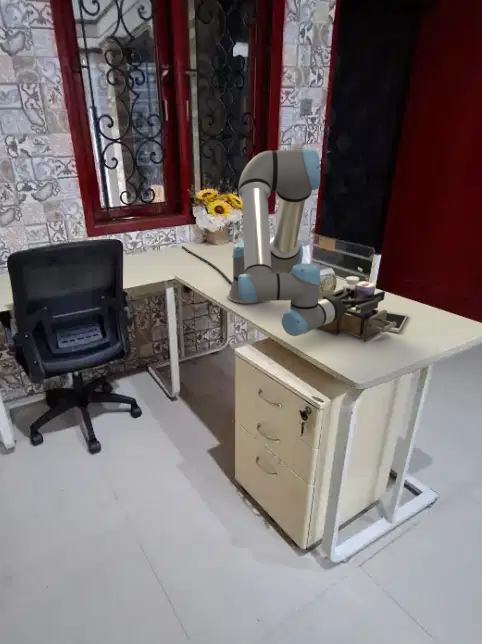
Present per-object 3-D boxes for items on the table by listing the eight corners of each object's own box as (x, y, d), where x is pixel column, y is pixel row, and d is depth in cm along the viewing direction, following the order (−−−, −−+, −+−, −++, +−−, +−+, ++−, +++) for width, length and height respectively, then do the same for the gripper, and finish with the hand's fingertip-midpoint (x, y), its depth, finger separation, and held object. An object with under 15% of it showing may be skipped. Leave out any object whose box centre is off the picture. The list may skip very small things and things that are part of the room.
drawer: (398, 334, 133) (401, 314, 130) (379, 346, 127) (382, 325, 124) (350, 319, 145) (352, 301, 142) (330, 329, 139) (332, 310, 136)
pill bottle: (361, 306, 158) (365, 278, 153) (350, 310, 155) (353, 281, 150) (349, 301, 163) (352, 274, 158) (337, 305, 160) (340, 277, 155)
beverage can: (372, 327, 136) (379, 283, 129) (362, 332, 133) (368, 288, 126) (356, 322, 140) (362, 279, 134) (346, 327, 137) (351, 284, 130)
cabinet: (357, 323, 144) (360, 299, 140) (335, 334, 137) (338, 310, 133) (323, 312, 154) (325, 290, 150) (301, 323, 147) (303, 299, 143)
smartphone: (407, 316, 147) (408, 313, 147) (398, 332, 136) (398, 330, 135) (386, 312, 151) (386, 310, 150) (375, 328, 140) (376, 326, 139)
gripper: (300, 313, 132) (347, 295, 143) (352, 332, 117) (399, 311, 129) (302, 290, 128) (349, 275, 140) (355, 308, 114) (403, 289, 125)
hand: (373, 292), depth 134 cm, fingers open, 6 cm apart
